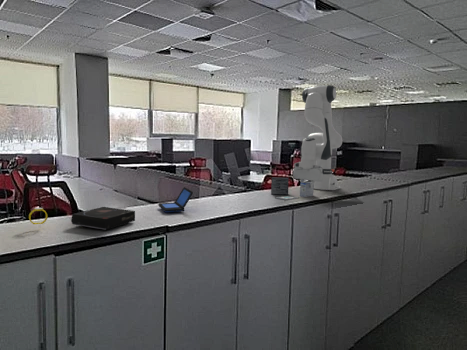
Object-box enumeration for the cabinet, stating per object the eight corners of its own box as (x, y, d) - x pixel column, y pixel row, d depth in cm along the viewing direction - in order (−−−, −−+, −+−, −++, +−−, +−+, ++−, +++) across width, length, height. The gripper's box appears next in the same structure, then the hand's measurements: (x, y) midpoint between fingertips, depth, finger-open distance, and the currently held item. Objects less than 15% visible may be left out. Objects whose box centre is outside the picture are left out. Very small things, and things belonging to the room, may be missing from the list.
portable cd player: (102, 215, 152) (102, 206, 152) (134, 220, 146) (134, 211, 145) (71, 224, 137) (71, 213, 137) (106, 229, 131) (105, 219, 130)
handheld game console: (157, 206, 176) (157, 187, 175) (184, 204, 181) (184, 186, 180) (164, 212, 162) (165, 192, 161) (193, 211, 167) (193, 191, 166)
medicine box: (307, 195, 223) (308, 181, 222) (313, 196, 220) (314, 182, 219) (299, 196, 218) (300, 182, 217) (305, 197, 215) (306, 183, 214)
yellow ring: (29, 225, 131) (29, 209, 130) (28, 224, 133) (28, 208, 133) (48, 223, 135) (47, 208, 134) (46, 222, 137) (46, 206, 136)
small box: (287, 194, 227) (288, 177, 226) (288, 195, 220) (289, 178, 219) (270, 193, 228) (271, 176, 227) (271, 194, 221) (271, 178, 220)
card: (288, 196, 216) (288, 195, 216) (299, 198, 210) (299, 197, 210) (274, 198, 209) (275, 197, 209) (285, 200, 202) (285, 199, 202)
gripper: (325, 165, 211) (324, 189, 212) (298, 163, 226) (297, 184, 228) (319, 166, 207) (317, 190, 208) (292, 163, 222) (291, 185, 224)
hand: (307, 187), depth 218 cm, fingers closed on medicine box, 4 cm apart
